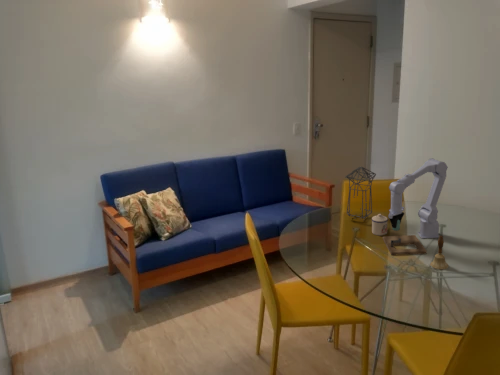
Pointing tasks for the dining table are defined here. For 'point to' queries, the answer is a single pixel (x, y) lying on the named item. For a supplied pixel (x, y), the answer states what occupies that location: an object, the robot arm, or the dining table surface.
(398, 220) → the bobbin
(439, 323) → the dining table surface
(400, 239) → the hook arm
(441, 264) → the hand bell
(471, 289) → the dining table surface
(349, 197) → the geometric lantern
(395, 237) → the wooden picture frame
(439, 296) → the dining table surface
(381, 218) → the teacup with lid
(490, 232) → the dining table surface
